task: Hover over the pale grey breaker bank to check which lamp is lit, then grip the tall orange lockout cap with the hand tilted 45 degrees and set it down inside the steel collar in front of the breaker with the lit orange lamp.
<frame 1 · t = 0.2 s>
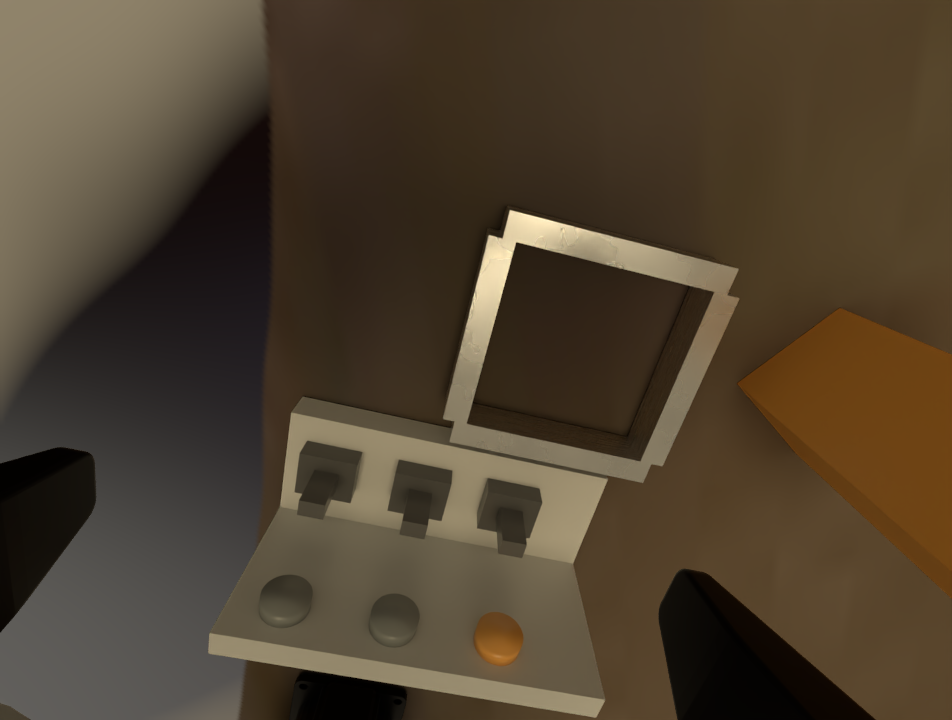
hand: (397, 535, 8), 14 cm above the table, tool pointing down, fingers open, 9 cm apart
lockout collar: (574, 343, 21), on the table
breaker bank: (441, 482, 24), on the table
lockout cap: (816, 384, 22), on the table
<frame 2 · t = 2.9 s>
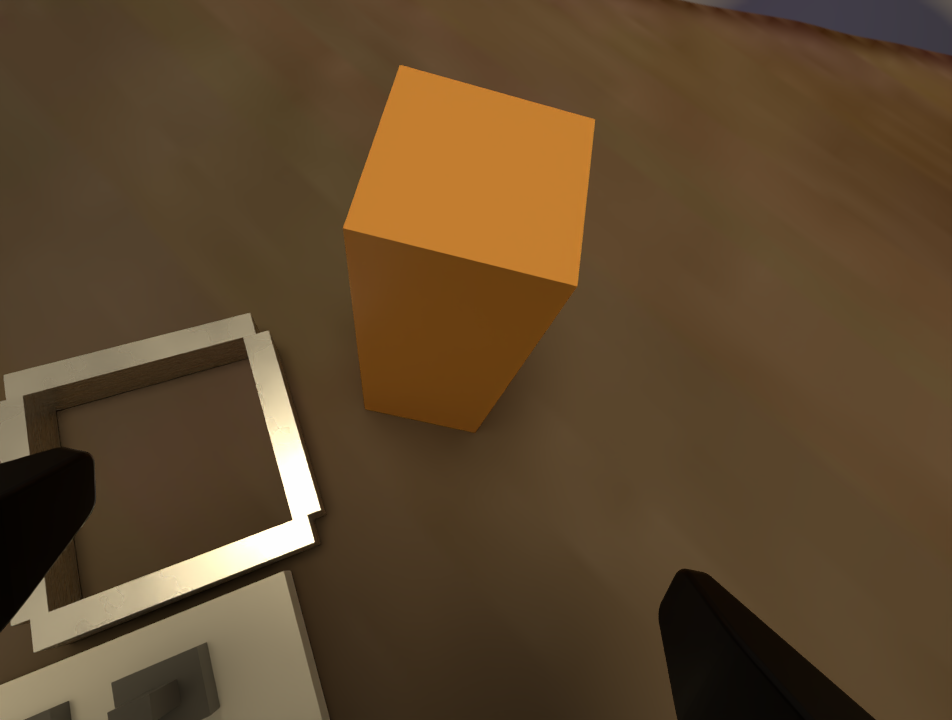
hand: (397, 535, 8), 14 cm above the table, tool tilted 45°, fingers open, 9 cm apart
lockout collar: (178, 467, 20), on the table
lockout cap: (432, 370, 23), on the table
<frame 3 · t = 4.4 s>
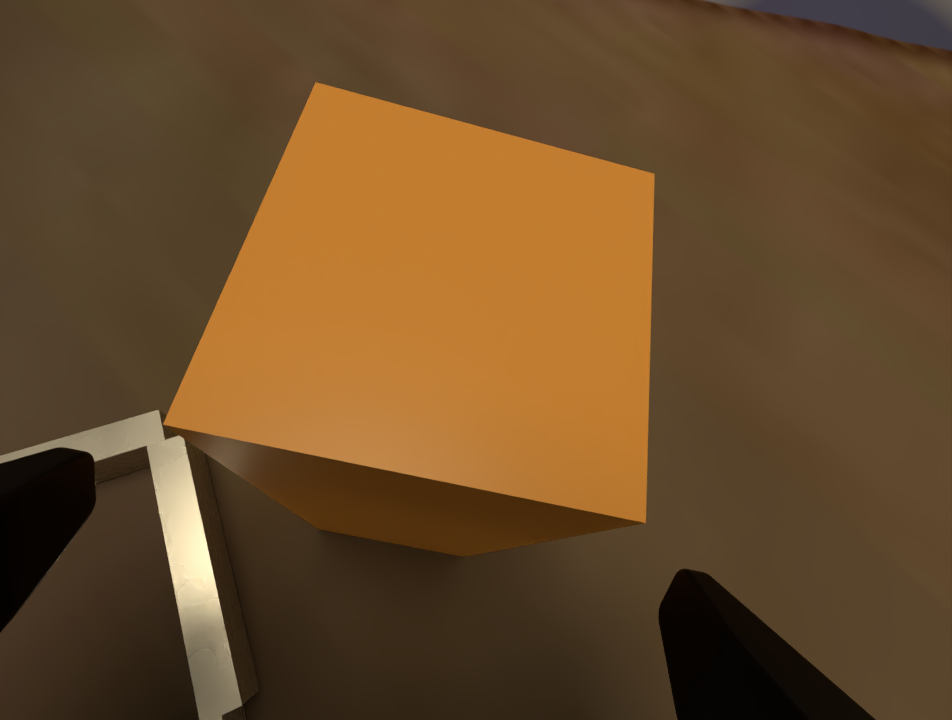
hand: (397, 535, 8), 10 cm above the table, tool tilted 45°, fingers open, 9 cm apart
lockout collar: (54, 628, 14), on the table
lockout cap: (408, 470, 18), on the table
when the fingers open (9 cm above the table, at t = 9.7 s): lockout cap drops 2 cm, resting in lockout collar.
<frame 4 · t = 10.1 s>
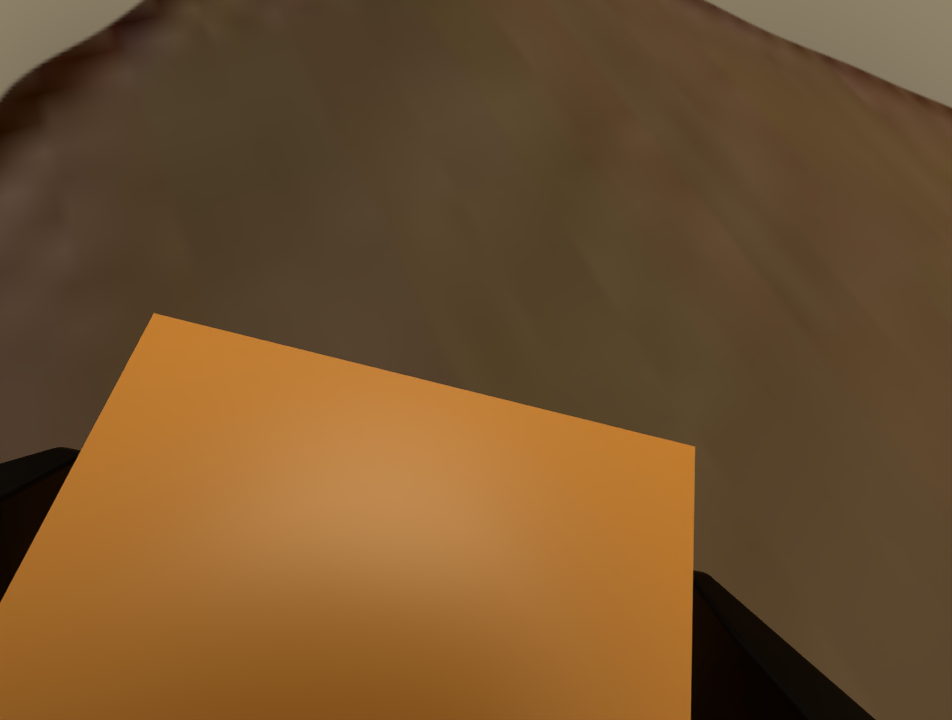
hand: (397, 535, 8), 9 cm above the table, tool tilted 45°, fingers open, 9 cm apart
lockout cap: (377, 599, 15), resting in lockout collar
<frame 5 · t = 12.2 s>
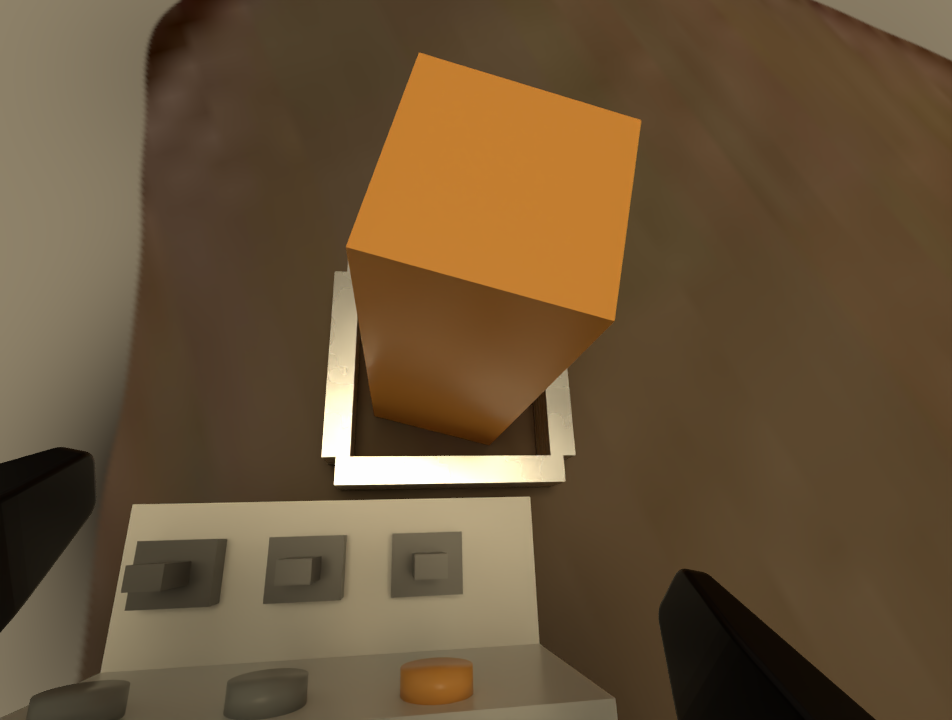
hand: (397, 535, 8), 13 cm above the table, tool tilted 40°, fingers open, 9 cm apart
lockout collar: (447, 376, 22), on the table
breaker bank: (342, 587, 19), on the table
lockout cap: (446, 376, 22), resting in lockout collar
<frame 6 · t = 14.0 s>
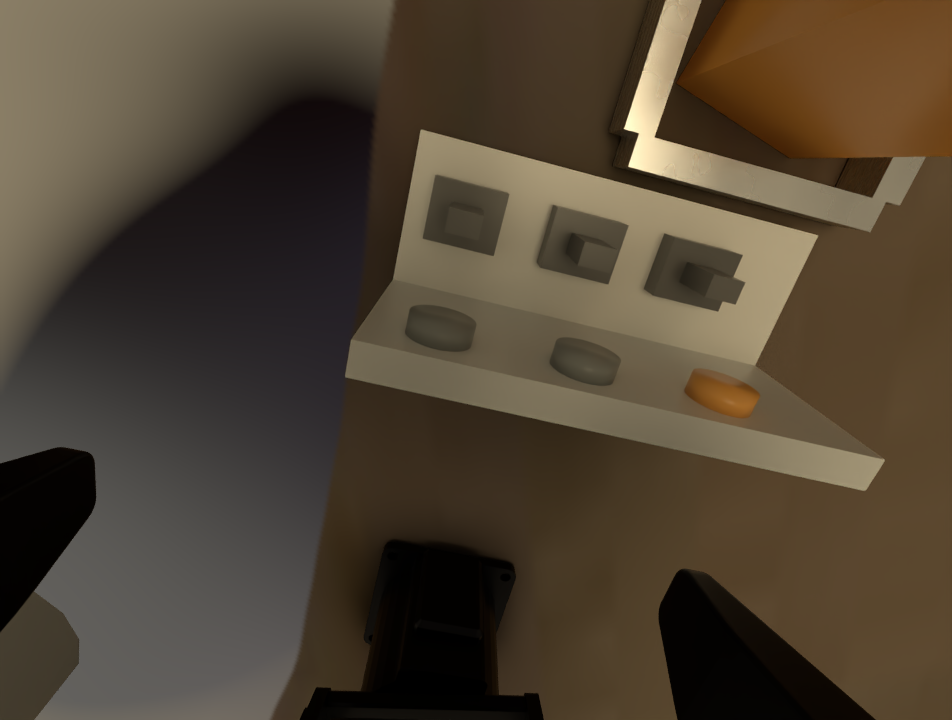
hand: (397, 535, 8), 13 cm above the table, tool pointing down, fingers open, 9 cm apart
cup: (0, 632, 26), on the table
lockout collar: (784, 48, 17), on the table
breaker bank: (588, 263, 19), on the table
lockout cap: (782, 48, 17), resting in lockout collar
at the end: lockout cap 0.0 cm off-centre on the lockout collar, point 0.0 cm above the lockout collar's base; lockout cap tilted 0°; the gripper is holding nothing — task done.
